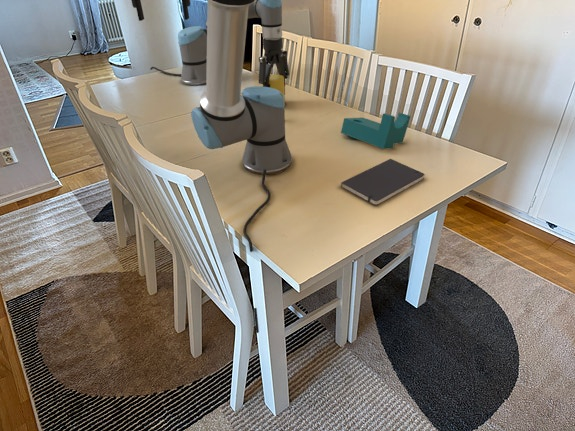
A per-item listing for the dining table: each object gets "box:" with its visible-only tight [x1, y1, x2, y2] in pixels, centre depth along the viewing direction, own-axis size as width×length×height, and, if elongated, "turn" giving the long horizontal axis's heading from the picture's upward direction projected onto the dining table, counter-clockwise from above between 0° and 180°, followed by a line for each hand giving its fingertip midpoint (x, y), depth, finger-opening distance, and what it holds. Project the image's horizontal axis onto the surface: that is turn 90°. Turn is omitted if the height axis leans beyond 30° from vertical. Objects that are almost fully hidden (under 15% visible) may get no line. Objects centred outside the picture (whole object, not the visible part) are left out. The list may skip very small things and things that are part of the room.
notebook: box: [340, 158, 425, 206], centre depth 114 cm, size 13×2×21 cm
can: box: [265, 73, 286, 105], centre depth 164 cm, size 8×8×11 cm
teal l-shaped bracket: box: [340, 112, 412, 150], centre depth 135 cm, size 18×11×10 cm, turn 43°
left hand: (275, 97), depth 165 cm, fingers closed on can, 8 cm apart
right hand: (164, 19), depth 120 cm, fingers open, 13 cm apart
